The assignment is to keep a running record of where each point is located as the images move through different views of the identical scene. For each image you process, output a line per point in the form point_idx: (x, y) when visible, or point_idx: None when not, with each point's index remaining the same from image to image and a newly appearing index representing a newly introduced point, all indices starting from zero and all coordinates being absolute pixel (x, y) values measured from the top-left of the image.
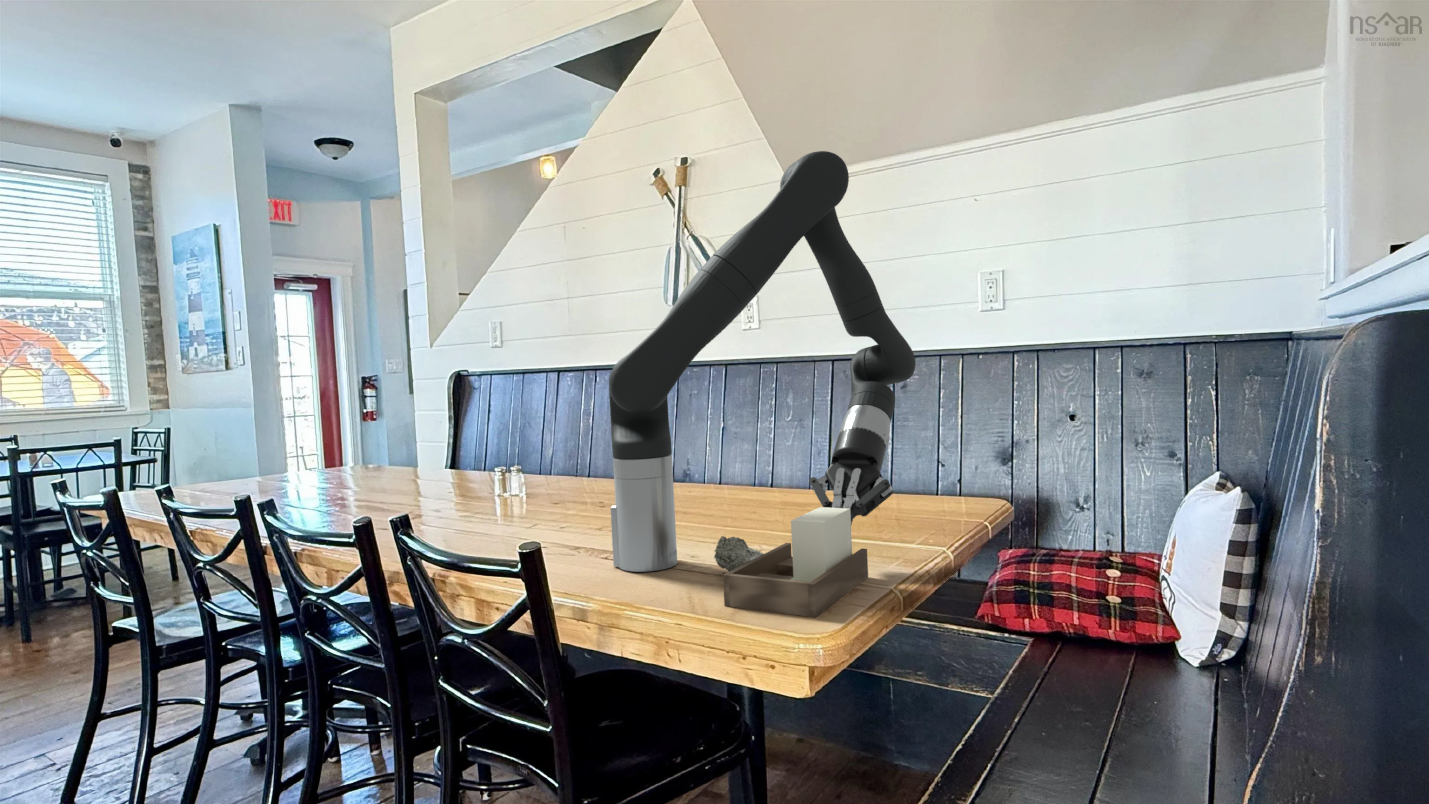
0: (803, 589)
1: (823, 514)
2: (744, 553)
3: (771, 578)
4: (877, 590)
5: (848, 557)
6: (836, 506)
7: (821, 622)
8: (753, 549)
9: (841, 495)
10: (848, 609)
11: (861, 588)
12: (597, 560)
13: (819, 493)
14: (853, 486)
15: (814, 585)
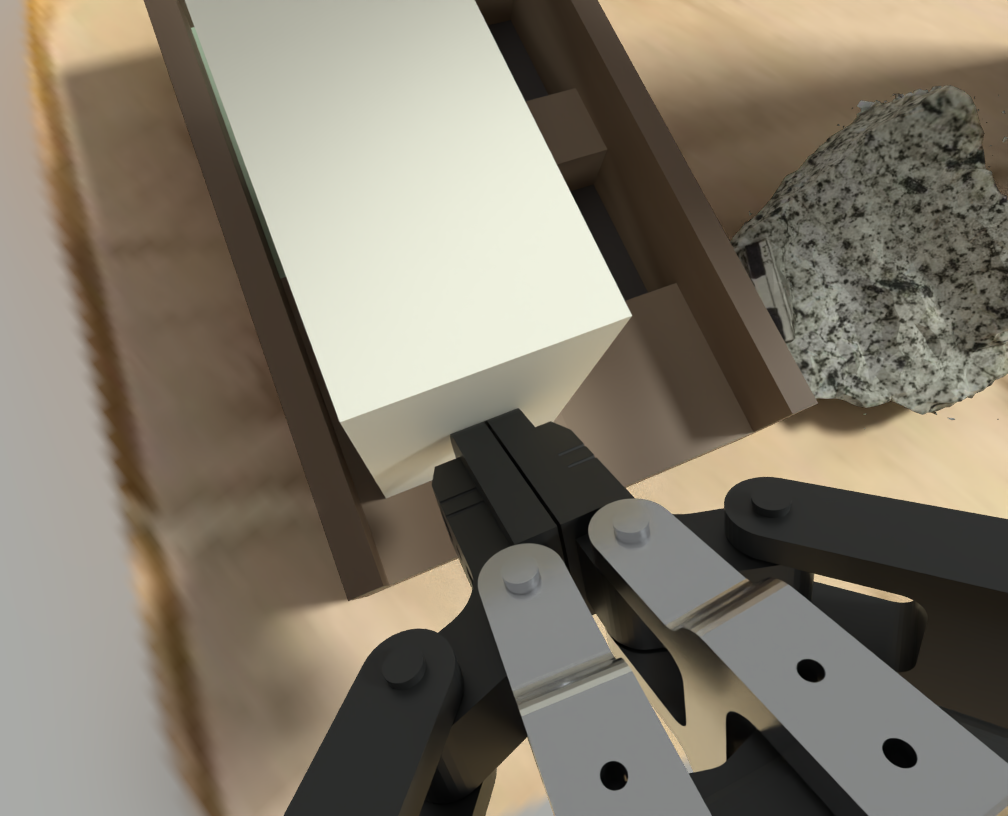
0: None
1: (352, 89)
2: (866, 241)
3: None
4: (195, 452)
5: (300, 365)
6: (614, 518)
7: (134, 45)
8: (971, 386)
9: (677, 632)
10: (141, 190)
11: (274, 429)
12: None
13: (940, 533)
14: (603, 800)
15: None
